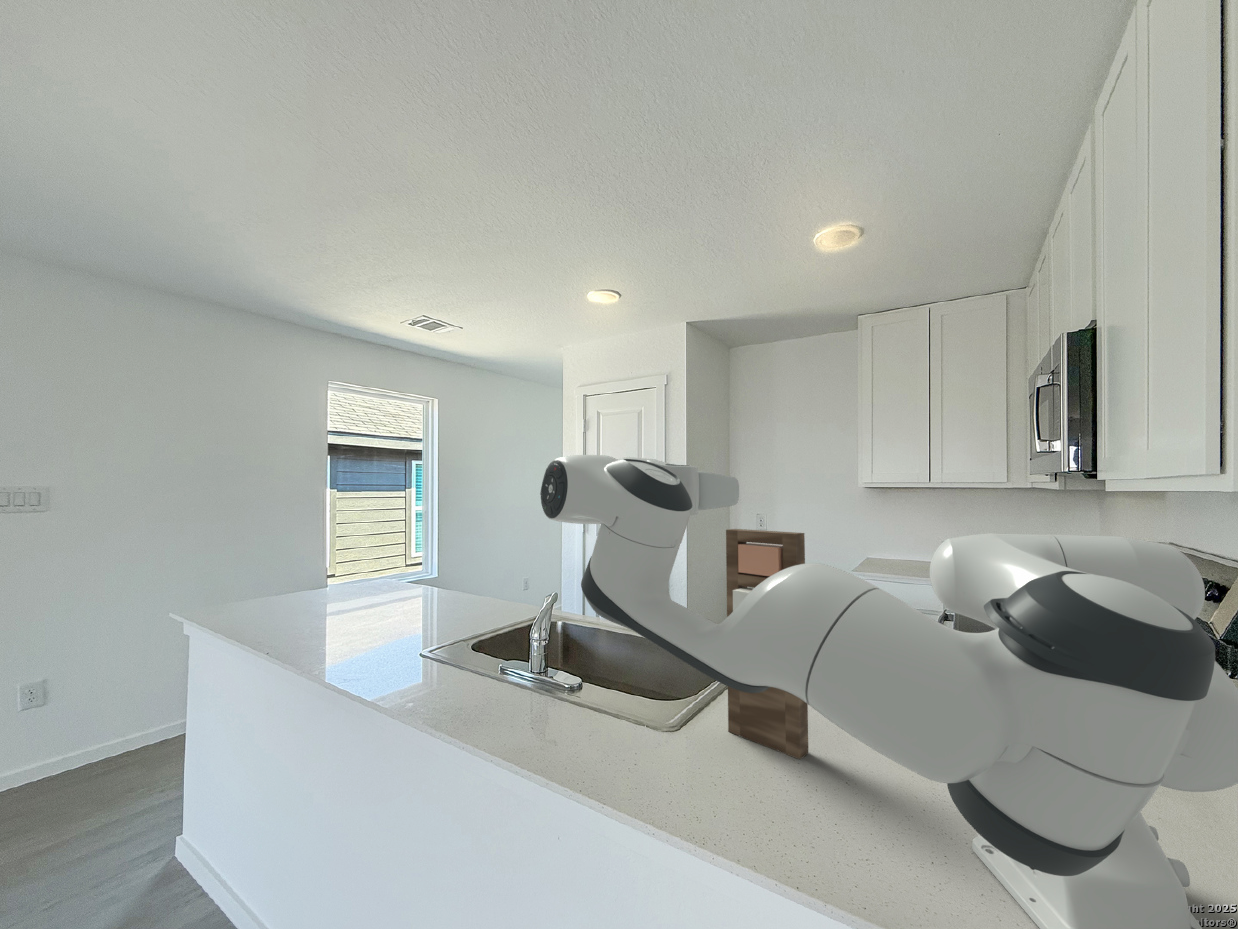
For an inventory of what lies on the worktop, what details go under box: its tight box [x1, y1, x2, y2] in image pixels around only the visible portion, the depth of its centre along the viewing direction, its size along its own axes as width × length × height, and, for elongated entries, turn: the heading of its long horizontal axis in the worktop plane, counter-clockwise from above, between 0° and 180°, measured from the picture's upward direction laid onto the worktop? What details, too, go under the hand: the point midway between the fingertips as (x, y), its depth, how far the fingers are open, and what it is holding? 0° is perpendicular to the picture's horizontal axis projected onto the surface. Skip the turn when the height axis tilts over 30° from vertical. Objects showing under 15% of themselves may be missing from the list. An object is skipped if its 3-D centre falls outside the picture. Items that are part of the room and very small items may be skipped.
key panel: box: [725, 528, 809, 760], centre depth 94 cm, size 3×14×37 cm, turn 44°
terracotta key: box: [738, 542, 783, 576], centre depth 95 cm, size 4×8×5 cm, turn 44°
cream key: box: [733, 587, 754, 611], centre depth 93 cm, size 4×8×5 cm, turn 44°
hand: (703, 490), depth 83 cm, fingers closed
